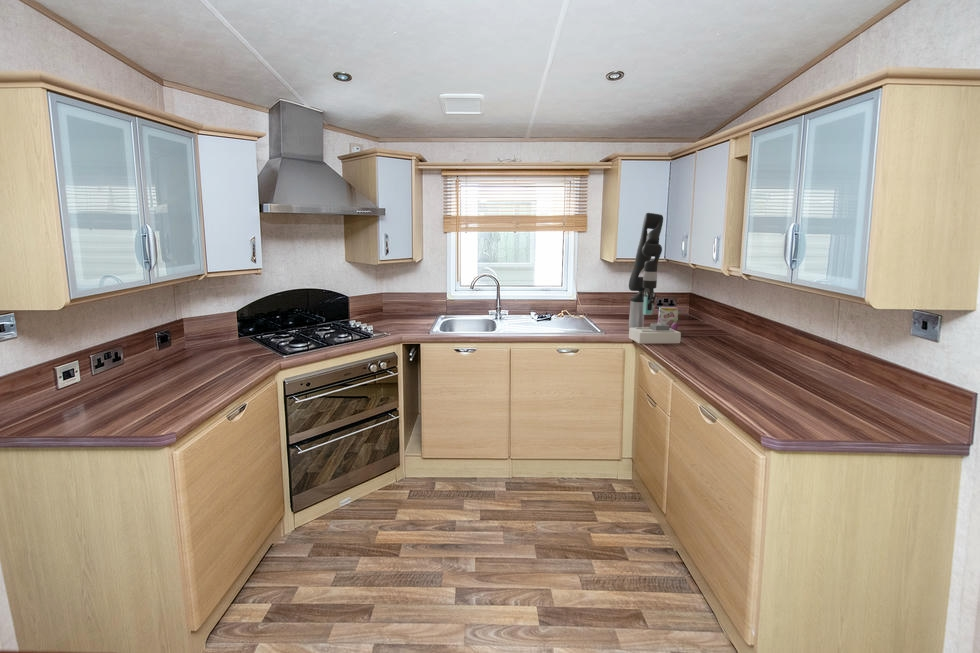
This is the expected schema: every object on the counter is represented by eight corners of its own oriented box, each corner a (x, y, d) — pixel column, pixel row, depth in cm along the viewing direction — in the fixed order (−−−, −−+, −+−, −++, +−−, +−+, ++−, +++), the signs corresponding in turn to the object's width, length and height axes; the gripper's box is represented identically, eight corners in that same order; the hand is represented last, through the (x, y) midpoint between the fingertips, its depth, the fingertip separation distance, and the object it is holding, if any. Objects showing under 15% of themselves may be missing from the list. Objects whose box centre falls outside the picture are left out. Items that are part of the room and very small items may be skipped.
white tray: (628, 337, 306) (629, 326, 305) (667, 337, 309) (668, 326, 308) (639, 343, 291) (640, 331, 290) (680, 343, 293) (681, 331, 292)
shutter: (650, 328, 303) (650, 321, 302) (663, 328, 303) (663, 321, 303) (655, 331, 295) (656, 324, 294) (669, 330, 296) (669, 324, 295)
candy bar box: (658, 334, 319) (660, 307, 316) (656, 332, 324) (658, 306, 321) (677, 334, 318) (679, 308, 315) (675, 333, 323) (677, 307, 320)
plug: (642, 313, 298) (643, 296, 296) (649, 313, 299) (650, 296, 297) (645, 314, 294) (646, 297, 293) (652, 314, 295) (653, 297, 293)
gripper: (661, 280, 286) (659, 311, 290) (651, 278, 300) (649, 307, 303) (648, 280, 286) (646, 311, 289) (638, 278, 300) (636, 307, 303)
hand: (647, 309), depth 296 cm, fingers closed on plug, 4 cm apart
